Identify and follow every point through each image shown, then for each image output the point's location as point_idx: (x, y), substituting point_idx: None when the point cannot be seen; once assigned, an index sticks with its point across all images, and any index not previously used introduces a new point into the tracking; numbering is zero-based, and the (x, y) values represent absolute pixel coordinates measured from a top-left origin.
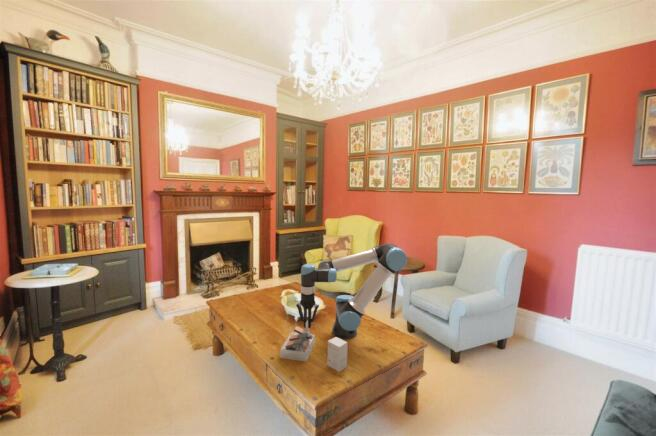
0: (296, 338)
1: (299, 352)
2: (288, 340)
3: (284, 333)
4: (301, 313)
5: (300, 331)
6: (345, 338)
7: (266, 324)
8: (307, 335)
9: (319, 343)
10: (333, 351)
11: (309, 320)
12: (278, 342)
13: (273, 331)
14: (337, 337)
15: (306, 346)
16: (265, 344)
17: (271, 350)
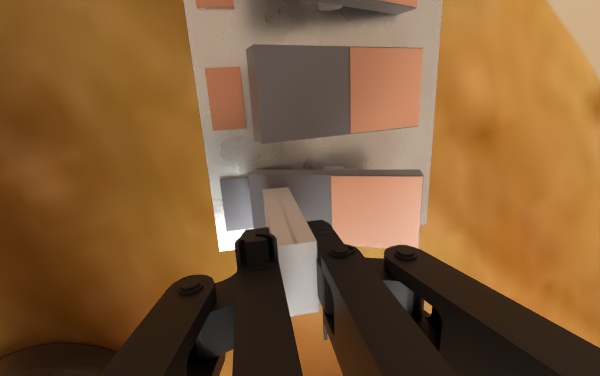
0: (349, 47)
1: None
2: None
3: (453, 258)
4: (519, 368)
5: (348, 186)
6: (17, 351)
7: (569, 305)
8: (265, 183)
9: (189, 229)
10: None
11: (251, 282)
12: (463, 149)
13: (519, 255)
14: None
15: (216, 23)
16: (535, 101)
17: (484, 39)
